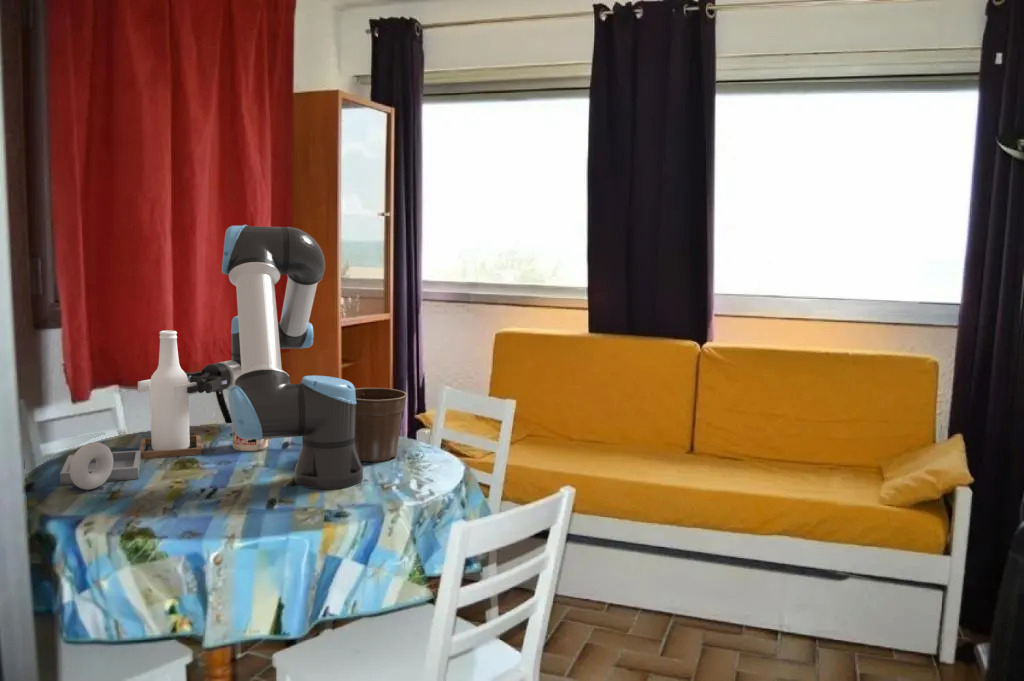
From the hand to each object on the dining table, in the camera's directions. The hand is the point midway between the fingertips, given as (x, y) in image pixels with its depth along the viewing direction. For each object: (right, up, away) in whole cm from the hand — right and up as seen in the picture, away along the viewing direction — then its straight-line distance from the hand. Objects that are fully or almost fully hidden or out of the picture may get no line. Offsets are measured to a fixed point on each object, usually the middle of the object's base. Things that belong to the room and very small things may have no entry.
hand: (157, 389), depth 190 cm
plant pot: (+52, -17, +6) cm, 55 cm away
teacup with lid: (+21, -16, +10) cm, 28 cm away
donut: (-2, -20, -26) cm, 32 cm away
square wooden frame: (+1, -15, +6) cm, 16 cm away
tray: (-6, -18, -14) cm, 24 cm away
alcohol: (+1, -16, +6) cm, 17 cm away
